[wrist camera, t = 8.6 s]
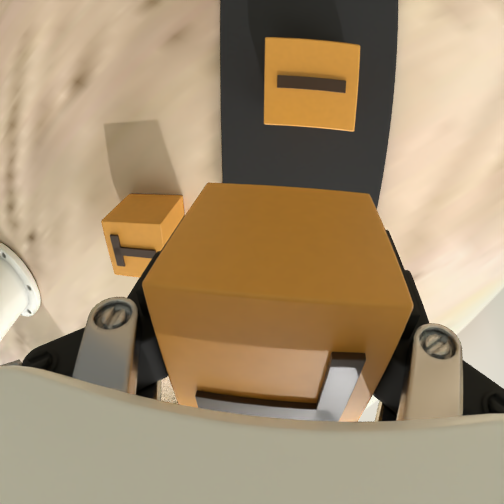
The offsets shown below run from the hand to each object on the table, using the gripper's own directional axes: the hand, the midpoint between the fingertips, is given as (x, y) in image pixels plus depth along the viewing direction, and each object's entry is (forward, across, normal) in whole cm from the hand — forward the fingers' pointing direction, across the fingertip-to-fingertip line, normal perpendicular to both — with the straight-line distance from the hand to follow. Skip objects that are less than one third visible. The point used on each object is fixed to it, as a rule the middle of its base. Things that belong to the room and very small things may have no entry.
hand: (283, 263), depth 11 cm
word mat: (+15, -1, -5) cm, 15 cm away
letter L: (0, 0, 0) cm, 0 cm away
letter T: (+15, +11, +7) cm, 20 cm away
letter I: (+14, -1, -5) cm, 15 cm away
